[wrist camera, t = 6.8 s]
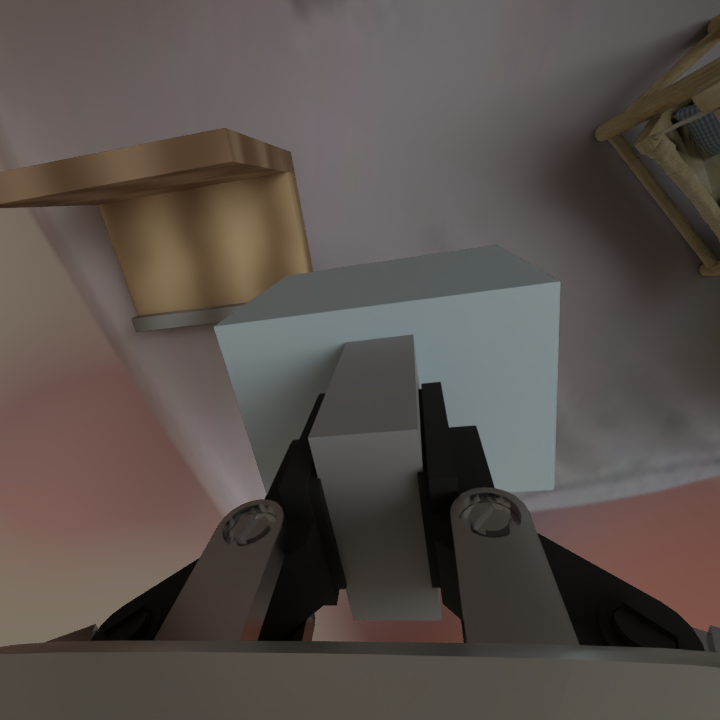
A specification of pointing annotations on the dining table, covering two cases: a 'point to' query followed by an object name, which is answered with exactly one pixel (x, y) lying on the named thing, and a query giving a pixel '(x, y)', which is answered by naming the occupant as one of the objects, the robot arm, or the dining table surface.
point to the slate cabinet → (398, 395)
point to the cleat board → (184, 219)
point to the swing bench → (679, 141)
